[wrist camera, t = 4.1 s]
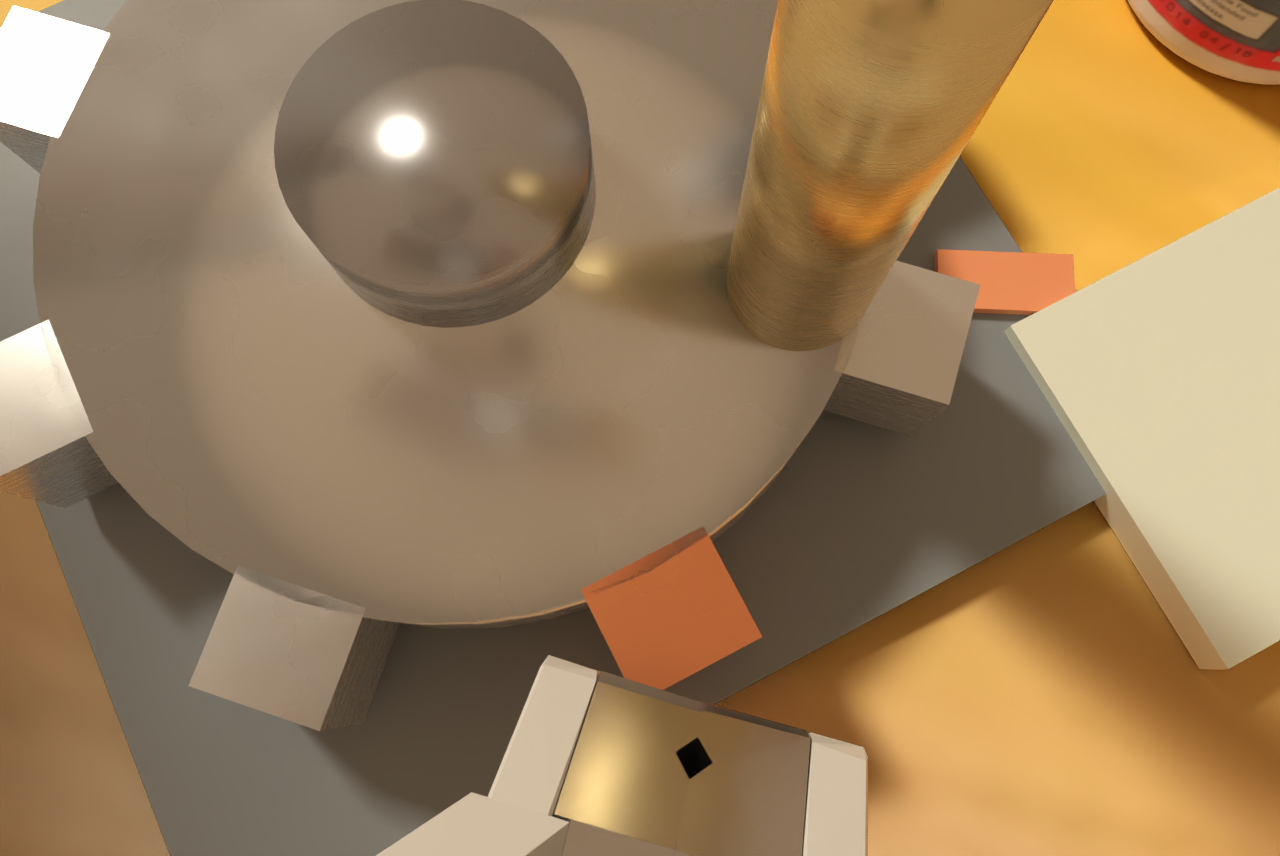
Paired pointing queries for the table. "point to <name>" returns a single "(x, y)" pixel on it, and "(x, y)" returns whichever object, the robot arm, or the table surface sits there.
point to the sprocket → (476, 298)
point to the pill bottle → (1219, 35)
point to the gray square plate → (511, 656)
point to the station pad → (1182, 421)
